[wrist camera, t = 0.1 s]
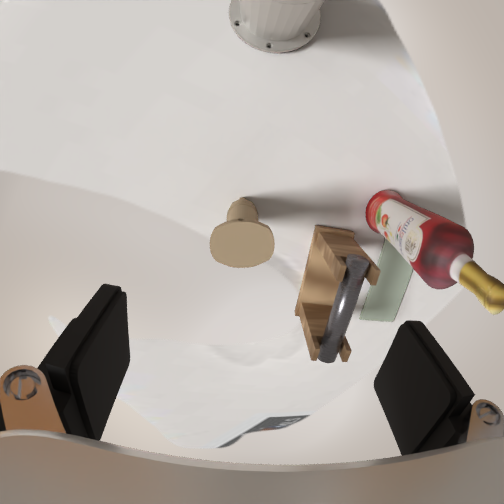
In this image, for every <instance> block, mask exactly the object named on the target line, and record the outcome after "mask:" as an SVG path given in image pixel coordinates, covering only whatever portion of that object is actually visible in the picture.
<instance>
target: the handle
mask: <svg viewBox="0 0 504 504" xmlns="http://www.w3.org/2000/svg"><path fill="white" fill-rule="evenodd" d="M210 250H211V254H212V256H213V258H214V259H215V260H216V261H217V262H219V263H222V264H224V265H227V266H230V267H237V268H245V267H253V266H257V265H259V264H261V263H263V262H266V261H268V260H269V259H270V258H271V256H272V254H273V251H274V237H273V234H272V231H271V229H270V228H269V226H267V225H265V224H263V223H261V222H258V213H257V210H256V208H255V206H254V204H253V203H252V202H250V201H248V200H246V199H245V198H244V197H242V198H240V199H239V200H237V201H235V202H233V203H232V205H231V206H230V208H229V210H228V213H227V222H224V223H222V224H220V225H219V226H217V227H215V229H214V230H213V232H212V234H211V238H210Z"/></svg>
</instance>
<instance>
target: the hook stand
mask: <svg viewBox="0 0 504 504" xmlns="http://www.w3.org/2000/svg"><path fill="white" fill-rule="evenodd" d="M354 235H355V233H354V232H353V231H349V230H343V229H337V228H331V227H325V226H319V225H315V230H314V234H313V238H312V243H311V247H310V251H309V256H308V260H307V264H306V268H305V272H304V276H303V280H302V284H301V288H300V292H299V296H298V300H297V305H296V308H295V316H300V320H301V323H302V327H303V331H304V335H305V338H306V342H307V346H308V350H309V353H310V357H311V360H313V361H316V360H317V357H318V354H319V352H320V347H319V346H320V343H321V340H322V337H323V334H324V331H325V328H326V325H327V322H328V319H329V315H330V312H331V309H332V306H333V303H334V300H335V296H336V293H337V290H338V286H339V283H340V282H342V281H343V277H344V274H345V271H346V267H347V266H346V264H345V262H346V259H347V255H348V254H357V255H361V256H363V257H365V258H367V259H368V260H369V265H368V268H367V272H366V275H365V278H366V279H367V280H368V282H369V283H370V285H374V286H376V284H377V281H378V278H379V275H380V272H381V270H380V269H379V268H378V267H377V266H376V264H375V263H374V262H373V261H372V260H371V259H370V257H369V256H368V255H367V254H366V253H365V252H364V251H363V249H362V248H361V247H360V246H359V245H358V244H357V243H356V241H355V240H354ZM350 353H351V348H350V346H349V344H348V341H347V339H346V337H345V336H344V339H343V341H342V344H341V347H340V349H339V354H340V357H341V360H342V362H347V361H348V358H349V356H350Z"/></svg>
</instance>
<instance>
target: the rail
mask: <svg viewBox="0 0 504 504" xmlns="http://www.w3.org/2000/svg"><path fill="white" fill-rule="evenodd" d="M345 264H346V266H347V267H346V271H345V274H344V277H343V281H342V282H340V283H339V286H338V290H337V293H336V296H335V300H334V303H333V306H332V309H331V312H330V315H329V319H328V322H327V325H326V328H325V331H324V334H323V337H322V340H321V343H320V346H319V347H320V352H319V354H318V357H317V358H318V359H319V360H320V361H322V362H325V363H332V362H334V361H335V359H336V357H337V354H338V352H339V349H340V347H341V344H342V341H343V339H344V336H345V333H346V331H347V328H348V325H349V322H350V320H351V317H352V314H353V311H354V308H355V305H356V302H357V299H358V296H359V293H360V290H361V287H362V284H363V281H364V278H365V275H366V272H367V268H368V265H369V260H368V259H367V258H365V257H363V256H361V255H357V254H348V255H347V259H346V262H345Z"/></svg>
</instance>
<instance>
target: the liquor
mask: <svg viewBox="0 0 504 504" xmlns="http://www.w3.org/2000/svg"><path fill="white" fill-rule="evenodd" d="M366 221H367V223H368V225H369V227H370V228H371V229H372V230H373V231H375V232H377V233H380V234H382V235H383V236H384V237H385V238H386V239H387V240H388V241H389V242H390V243H391V244H392V245H393V246H394V247H395V248H396V250H397V251H398V252H399V253H400V254H401V255H402V257H403V258H404V259H405V260H406V261H407V262H408V264H409V265H410V266H411V267H412V268H413V269H414V270H415V271H416V272H417V273H418V274H419V276H420V277H421V278H422V279H423V280H424V281H425V282H426V283H427V285H428V286H430V287H432V288H435V289H445V288H448V287H451V286H453V285H454V284H456V283H457V282H458V283H459V284H461V285H462V286H464V287H465V288H467V289H468V290H470V291H471V292H472V293H474V294H475V295H476V297H477V298H478V300H479V302H480V303H481V304H482V305H483V306H484V307H485V308H486V309H487V310H488V311H489V312H490V313H491V314H493V315H495V314H498V313H500V312H501V311H502V310H503V309H504V284H503V283H502V282H500V281H499V280H498V279H496V278H494V277H492V276H490V275H488V274H487V273H486V272H485V271H484V270H483V269H482V268H481V267H480V266H479V265H477V264H476V263H475V262H474V261H473V260H472V258H473V253H474V244H473V239H472V237H471V234H470V233H469V231H468V230H467V229H465V228H464V227H462V226H460V225H458V224H456V223H454V222H452V221H450V220H448V219H446V218H444V217H442V216H440V215H438V214H435V213H433V212H431V211H428V210H426V209H423V208H421V207H419V206H417V205H415V204H412V203H410V202H408V201H406V200H404V199H402V197H401V196H400V195H399V194H398V193H396V192H394V191H391V190H383V191H380V192H378V193H376V194H375V195H374V196H373V197H372V198H371V199H370V201H369V202H368V205H367V207H366Z"/></svg>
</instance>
